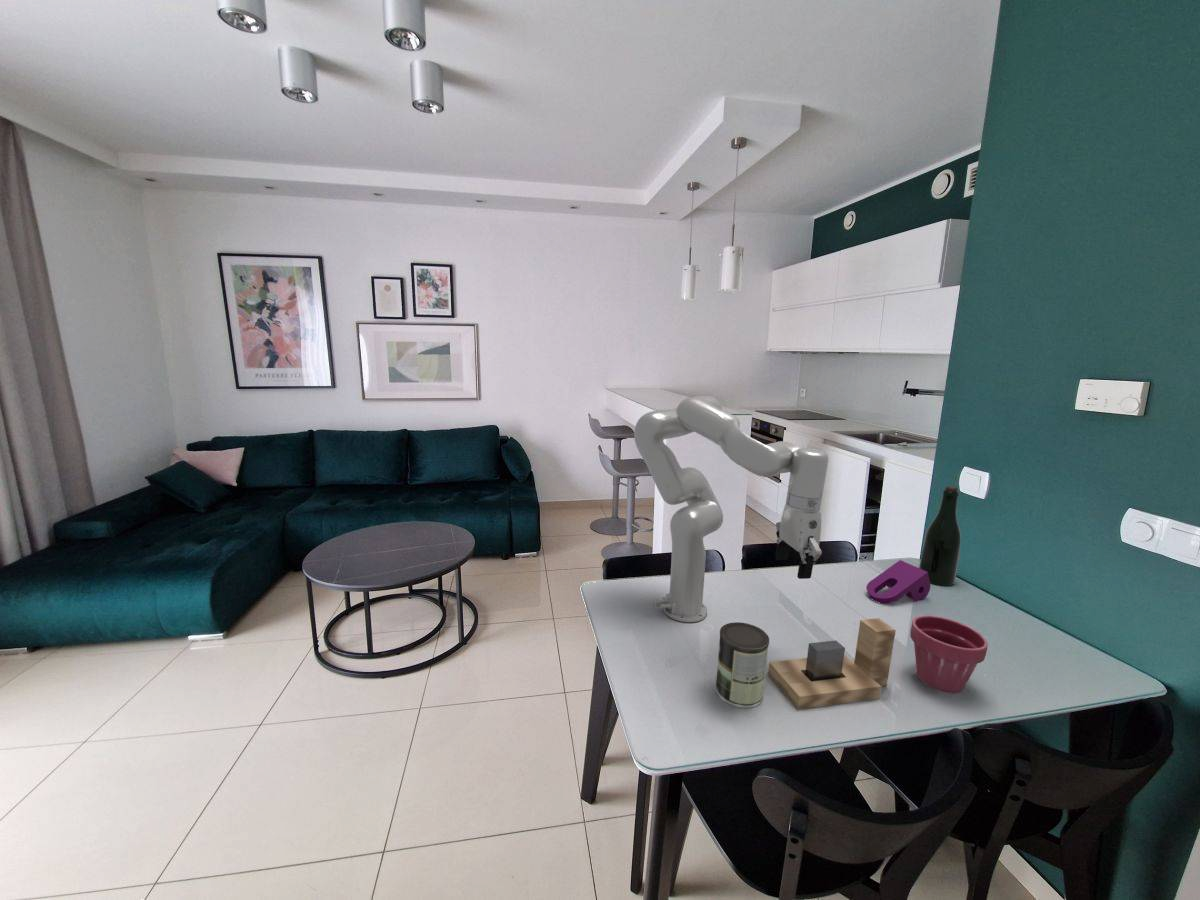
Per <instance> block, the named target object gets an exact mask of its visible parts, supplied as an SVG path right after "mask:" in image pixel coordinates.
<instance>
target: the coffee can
mask: <svg viewBox="0 0 1200 900" xmlns="http://www.w3.org/2000/svg"><path fill="white" fill-rule="evenodd" d="M718 645H719V646H718V656H717V667H716V668H717V670H716V679H715V681H716V682H715V686H714V687H715V692H716V694H717V695H718V697H719V698H720V699H721V700H722V701H723V702H725V703H727V704H728V705H729V706H732V707H734V708H735V707H736V708H740V709H752V708H755V707H758V706H759V705H760V704H762V702H763V699H764V689H765V688H764V687H765V679H766V678H765V677H766V669H767V668H766V667H767V660H768V659H767V658H768V650H769V645H770V637H769V635H768V634H767V632H765V630H763V629H761V628H760V627H758V626H756V625H753V624H750V623H745V622H735V621H734V622H728V623H724V625H722V626H721V627H720V629H719V644H718Z"/></svg>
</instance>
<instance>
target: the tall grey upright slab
mask: <svg viewBox="0 0 1200 900" xmlns="http://www.w3.org/2000/svg"><path fill="white" fill-rule="evenodd" d="M807 647H808V648H807V655H806V658H807V663H806V671H805V676H806V677H807V678H808V679H809V680H810V681H811V682H812V681H820V680H829V679H837V678H841V674H842V667H843V659H844V654H845V652H846V648H845V646H843V644H841V643H840V642H838V641H837V640H828V641H826V640H825V641H818V642H817V641H816V642H810V643H808V646H807Z"/></svg>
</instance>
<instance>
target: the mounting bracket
mask: <svg viewBox="0 0 1200 900" xmlns="http://www.w3.org/2000/svg"><path fill="white" fill-rule="evenodd" d="M886 587H887V588H888V589H887V590H886V591H885V592H883V593H879V592H880V591H882V590H883V589H884V588H886ZM930 590H931V583H930V580H929V576H928V572H927V571H924V570H922V569H920V568H919V567H917V566H914V565H913V564H911V563H908V562H906V561H904V560H902V559H900V560H898V561H897V562H895V563H894V564H893V565H891V566H889V567H888V568H886V569H885V570H884V571H883V572H881V573H879V575H877V576H876V577H874V578H873V579H871V580H870V581H868V583H867V584H866V593H867V596H868V598H870V599H871V600H872V599H873V600H872V601H874V600H875V602H876V601H877V602H876V603H878V602H880V603H879V604H882V603H883V604H885V605H886V604H888V605H889V604H893V603H895V602H897V601H899V600H900V599H902V598H903V597H904V596H906V597H907V598H909V599H911V600H913V601H914V602H921V601H924V600H925V599H926V598H927V596H928V595H929V593H930Z"/></svg>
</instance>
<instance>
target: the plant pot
mask: <svg viewBox="0 0 1200 900" xmlns="http://www.w3.org/2000/svg"><path fill="white" fill-rule="evenodd" d="M910 627H911V628H910V633H909V634H910V635H909V636H910V639H911V640H912V642H913V645H914V646H913V647H914V656H915V668H916V675H917V677H918V678H919V680H920V681H921V682H922V683H924V684H925V685H927V686H928V687H931V688H932V689H935V690H937V691H940V692H943V693H948V694H958V693H961V692H962V691H964V688H965V687H966V685H967V683H968V682H969V680H970V678H971V676H972V675H973V673H974V671H975V669H976V668H977V665H978V664H980V663H982V662H983V661H985V658H986V656H987V651H988V646H989V645H988V641H987V638H985V637H984V636H983V635H982V634H981V633H980V632H978V630H975V629H974V628H972V627H970V626H968V625H966V624H964V623H961V622H959V621H956V620H954V619H950V618H946V617H943V616H936V615H919V616H916V617H914V618H913V619H912V622H911V625H910Z"/></svg>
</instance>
